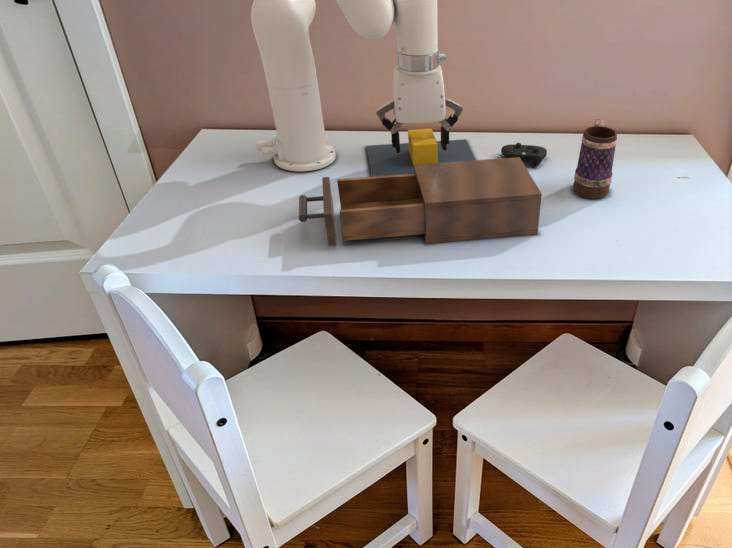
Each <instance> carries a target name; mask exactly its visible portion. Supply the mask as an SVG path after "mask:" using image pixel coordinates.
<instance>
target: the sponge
mask: <svg viewBox="0 0 732 548" xmlns="http://www.w3.org/2000/svg"><path fill="white" fill-rule="evenodd" d="M407 139H408V141H407V142H408V143H409V152H410V156H411V159H412V163H413V166H414V165H415V164H429V163H438V147H437V142H436V141H437V139H436V137H435V134H434V132H433V129H432V128H419V129H408V130H407Z"/></svg>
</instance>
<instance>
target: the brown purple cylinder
mask: <svg viewBox="0 0 732 548" xmlns="http://www.w3.org/2000/svg"><path fill="white" fill-rule="evenodd" d="M617 143H618V133H617V131H616V130H615V129H613V128H612V127H611V128H610V127H608V126H605V120H603V119H601V118H597V119H595V120H594V125H593V126H588V127H587V128H585V129H584V131H583V133H582V137H581V144H580V150H579V154H578V160H577V164H576V168H575V171H574V176H573V177H574V178H573V179H574V182H573V186H572V191H573V192H574V193H575V194H576V195H577V196H579V197H582V198H584V199H588V200H589V199H590V200H598V199H602V198H605V197H606V196H607V195H608V194H609V193H610V187H611V184H612V179H613V166H614V159H615V153H616V146H617Z"/></svg>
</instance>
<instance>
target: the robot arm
mask: <svg viewBox="0 0 732 548" xmlns="http://www.w3.org/2000/svg"><path fill="white" fill-rule="evenodd" d="M335 1H336V3H337V5H338V6H339V8H340V10H341V12H342V13H343V15H344V17H345V19H346V20H347V22H348V24H349V25H350V27H351V28H352V30H354V32H356V34H358V35H359V36H360V37H362V38H363V39H366V40H369V41H370V40H371V41H373V40H374V41H375V40H380V39H381V38H383V37H385V36H386V35H387V34H388V33H389V31H390V29H391V27H392V26H395V28H396V45H397V47H396V48H397V63H398V65H396V66H395V67H394V69H393V76H392V78H393V79H392V98H391V100H388V101H386V103H384V104H382V105H380V106H379V107H377V108H376V109H375V115H376V116H377V118H378V119H379V121H380V123H381V124H382V126H383V127H384V128H386V130H388V131H389V133H390V135H391V144H392V147H393V148H394V147H395V148H396V152H397V153H399V152H400V144H401V141H400V132H399V130H400V128H401V127H402V125H414V124H415V125H417V124H433V123H439V124H440V125H441V126H440V141H441V146H442V149H443V150H446V144H449V140H450V131H451V130H452V127H453V126H454V125H455V124H456V123H457V122H458V121H459V118H460V116H461V114H462V112H463V110H464V107H463V106H462V104H460V103H458V102H457V101H454V100H453V99H451V98H448V97H446V93H445V84H444V83H445V82H444V75H443V70H442V66H441V65H440V63H441V62H445V61H446V60H447V59H446V58H447V56H446V53H445V52H441V51H439V36H438V35H439V34H438V33H439V31H438V30H439V29H438V28H439V25H438V23H439V22H438V0H335ZM316 9H317V8H316V0H253V1H252V6H251V9H250V19H251V20H250V21H251V26H252V31H253V35H254V38H255V41H256V44H257V47H258V51H259V54H260V59H261V62H262V68H263V72H264V77H265V83H266V86H267V91H268V96H269V100H270V106H271V111H272V117H273V121H274V126H275V132H276V138H271V140H256V143H255V144H256V150H257V152H262V155H270V154H271V155H272V154H273V162H274V164H275V165H276V166H277V167H279V168H280V169H282V170H285V171H290V172H312V171H317V170H320V169H323V168H326V167H328V166H329V165H331V164H333V163H334V161H335V160H336V158H337V154H336V150H335V149H334V147H333V146H331V145H329V144H327V137H326V130H325V124H324V117H323V109H322V103H321V95H320V89H319V88H320V87H319V81H318V75H317V68H316V63H315V56H314V53H313V48H312V44H311V40H310V39H311V38H310V34H309V33H310V32H309V28H310V25H311V24H312V22H313V20H314V19H315V16H316V15H315V14H316ZM446 107H447V108H449V109H451V110H452V113H451V114H450V115H449V116H448V118H446V115H447V114H446V112H447V111H446ZM390 111H393V115H394V116H395V117H394V118H393V119H392V120H390V119H389V118H387V116H386V114H387V113H388V112H390Z"/></svg>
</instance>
